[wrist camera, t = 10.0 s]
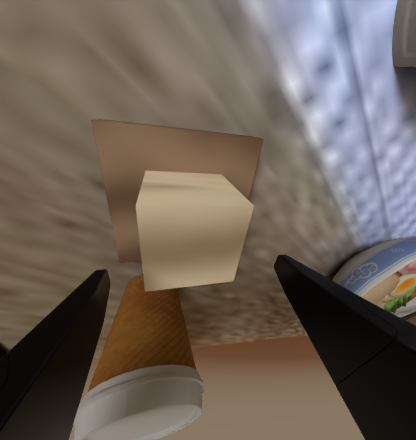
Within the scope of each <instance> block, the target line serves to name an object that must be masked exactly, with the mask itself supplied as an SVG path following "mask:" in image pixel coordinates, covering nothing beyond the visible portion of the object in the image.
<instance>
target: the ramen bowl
mask: <svg viewBox="0 0 416 440" xmlns="http://www.w3.org/2000/svg"><path fill="white" fill-rule="evenodd" d="M332 281H334V282H335V283H337V284H339V285H341V286H343V287H344V288H346V289H348V290H350V291H351V292H353V293H354V294H357V295H359V296H360V297H362V298H364V299H366V300H368V301H369V302H371V303H373V304H375V305H377V306H379V307H381V308H382V309H384V310H386V311H388V312H390V313H392V314H394V315H396V316H398V317H400V318H402V319H404V320H408V319H410V318H412V317H414V316H416V236H412V237H405V238H399V239H393V240H389V241H385V242H382V243H380V244H377V245H375V246H373V247H371V248H369V249H367V250H365V251H362V252H360V253H357V254H355V255H353V256H352V257H351V258H349V259H348V260H347V261H346V262H345V263H344V264H343V265H342V266H341V267H340V269H339V271H338V273H337V274H336V275H335V276H334V278H333V280H332ZM318 355H319V354H318Z"/></svg>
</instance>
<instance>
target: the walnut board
mask: <svg viewBox="0 0 416 440" xmlns="http://www.w3.org/2000/svg"><path fill="white" fill-rule="evenodd" d="M92 125H93V130H94V135H95V140H96V145H97V150H98V155H99V160H100V165H101V170H102V175H103V180H104V185H105V190H106V195H107V201H108V206H109V211H110V216H111V221H112V226H113V231H114V236H115V241H116V246H117V251H118V256H119V261H120V263H125V262H138V261H142V260H141V251H140V241H139V232H138V223H137V214H136V203H137V199H138V196H139V192H140V189H141V185H142V182H143V178H144V175H145V171H163V172H183V173H203V174H222V175H223V176H224V177H225V178H226V179H227V180H228V181H229V182H230V183H231V184H232V185H233V186H234V187H235V188H236V189H237V190H238V191H239V192H240V193H241V194H242V195H243V196H244V197H245V198H246V199H247V200H248V199H249V195H250V191H251V187H252V183H253V179H254V175H255V171H256V167H257V163H258V159H259V155H260V151H261V147H262V143H263V139H261V138H256V137H252V136H243V135H234V134H225V133H217V132H208V131H199V130H190V129H181V128H173V127H164V126H155V125H146V124H138V123H129V122H120V121H111V120H103V119H98V120H92Z"/></svg>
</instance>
